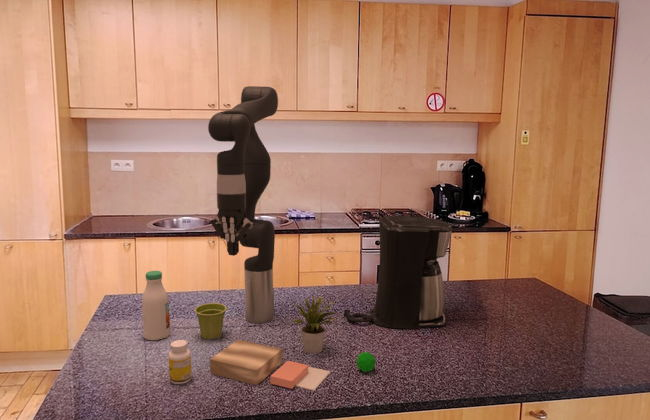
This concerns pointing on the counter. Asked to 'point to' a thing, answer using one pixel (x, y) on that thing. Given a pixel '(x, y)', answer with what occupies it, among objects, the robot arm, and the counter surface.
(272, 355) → the wooden block
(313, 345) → the house plant
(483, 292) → the counter surface
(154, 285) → the milk bottle
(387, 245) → the coffee maker
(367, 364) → the polyhedron
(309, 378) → the mat
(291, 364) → the salmon orange flat block
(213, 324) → the plant pot
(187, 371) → the supplement bottle
